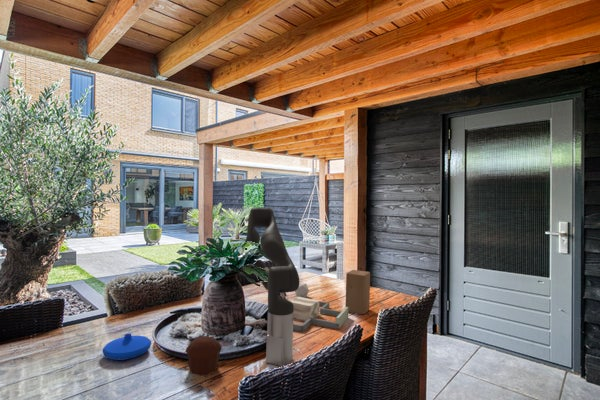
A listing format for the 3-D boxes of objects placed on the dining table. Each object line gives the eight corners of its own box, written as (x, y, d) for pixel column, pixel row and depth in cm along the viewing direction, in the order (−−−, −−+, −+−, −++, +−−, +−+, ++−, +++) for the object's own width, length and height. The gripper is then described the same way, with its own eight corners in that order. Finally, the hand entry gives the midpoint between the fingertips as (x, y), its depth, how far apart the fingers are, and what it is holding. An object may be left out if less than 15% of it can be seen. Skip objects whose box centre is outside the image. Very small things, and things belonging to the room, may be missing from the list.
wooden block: (344, 311, 171) (346, 273, 171) (351, 306, 180) (352, 269, 180) (363, 315, 166) (365, 275, 166) (369, 309, 175) (370, 271, 175)
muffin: (225, 361, 117) (226, 332, 117) (216, 378, 106) (216, 346, 106) (192, 359, 118) (192, 331, 118) (179, 376, 107) (180, 345, 106)
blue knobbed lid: (139, 340, 132) (139, 323, 131) (159, 353, 122) (159, 334, 121) (95, 354, 119) (95, 335, 119) (113, 370, 109) (113, 348, 109)
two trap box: (331, 337, 139) (331, 325, 139) (275, 326, 149) (275, 315, 149) (353, 311, 172) (353, 301, 172) (306, 303, 183) (306, 294, 183)
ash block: (309, 322, 156) (310, 306, 156) (287, 317, 162) (288, 301, 162) (319, 315, 165) (319, 300, 165) (298, 311, 171) (298, 296, 171)
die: (303, 301, 188) (312, 286, 191) (291, 293, 190) (300, 278, 193) (303, 302, 196) (311, 288, 199) (291, 294, 197) (299, 280, 200)
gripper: (265, 276, 164) (287, 304, 160) (277, 271, 177) (298, 297, 172) (255, 285, 167) (277, 314, 162) (268, 280, 179) (288, 306, 174)
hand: (287, 305), depth 167 cm, fingers closed
